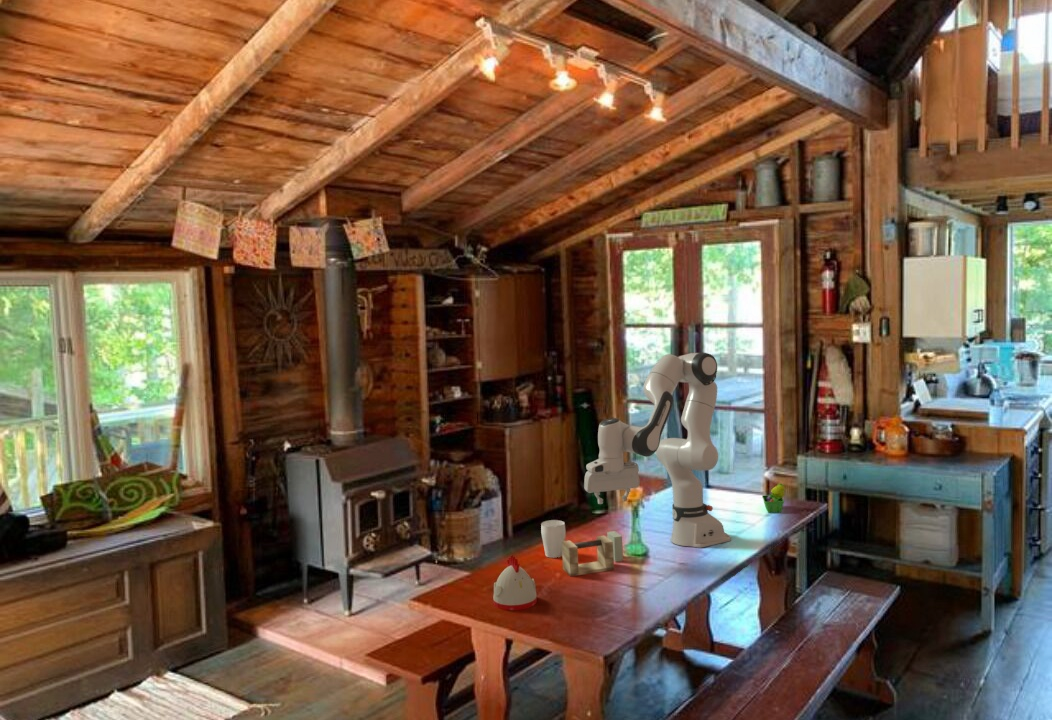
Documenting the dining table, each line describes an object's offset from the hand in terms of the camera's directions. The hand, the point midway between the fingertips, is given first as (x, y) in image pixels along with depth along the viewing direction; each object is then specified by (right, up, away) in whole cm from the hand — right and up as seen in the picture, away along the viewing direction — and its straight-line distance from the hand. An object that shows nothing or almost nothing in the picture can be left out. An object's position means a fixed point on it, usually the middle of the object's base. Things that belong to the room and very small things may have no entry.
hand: (612, 502), depth 307 cm
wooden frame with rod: (-9, -22, -8) cm, 25 cm away
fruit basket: (+74, -12, +53) cm, 92 cm away
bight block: (+1, -21, +2) cm, 21 cm away
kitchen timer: (-35, -26, -35) cm, 56 cm away
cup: (-21, -21, +9) cm, 31 cm away
